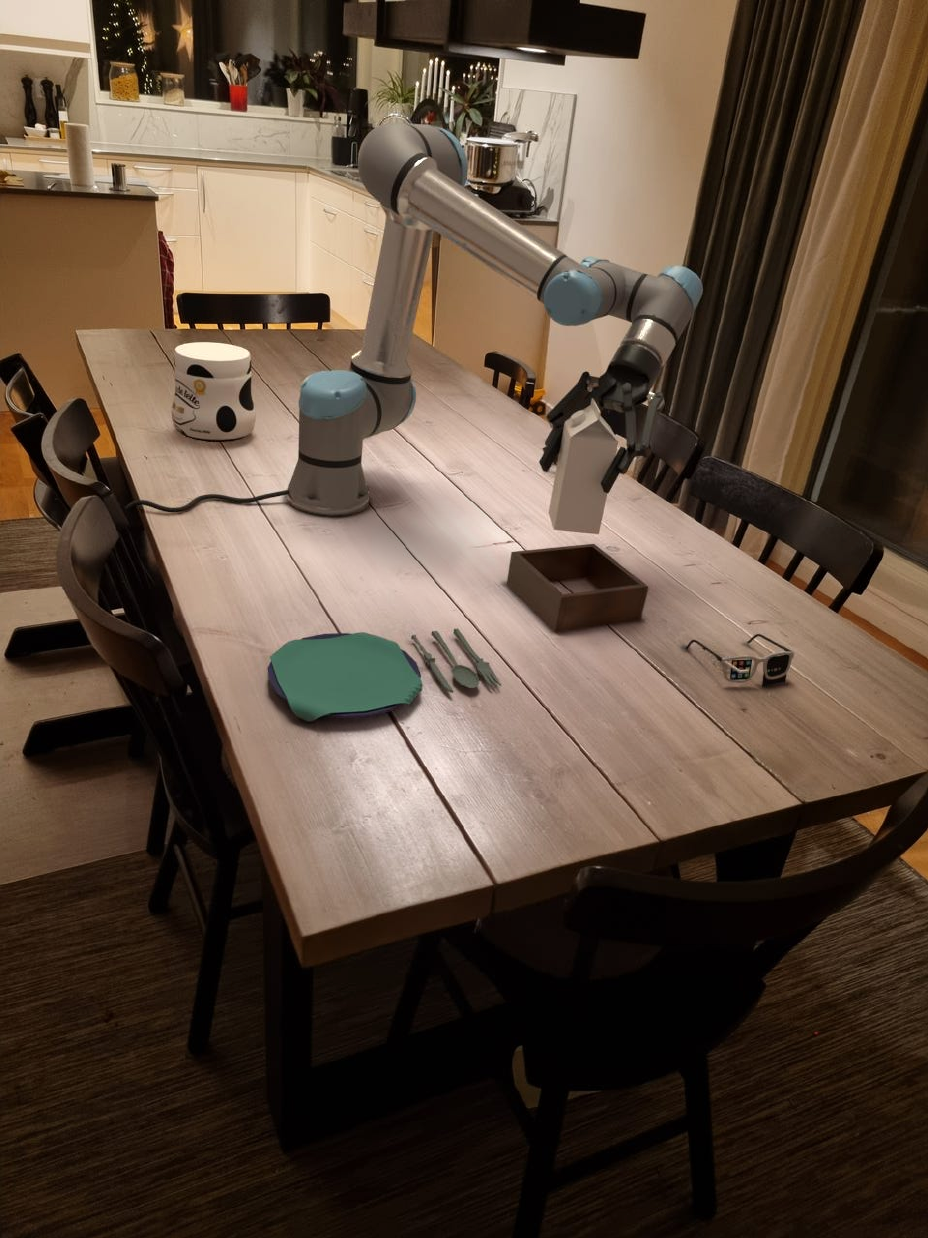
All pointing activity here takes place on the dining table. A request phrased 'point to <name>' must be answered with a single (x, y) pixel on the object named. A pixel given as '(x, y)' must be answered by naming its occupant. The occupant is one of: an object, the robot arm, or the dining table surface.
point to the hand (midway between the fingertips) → (573, 477)
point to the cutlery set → (358, 674)
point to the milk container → (213, 392)
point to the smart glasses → (741, 669)
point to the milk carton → (582, 472)
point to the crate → (576, 610)
